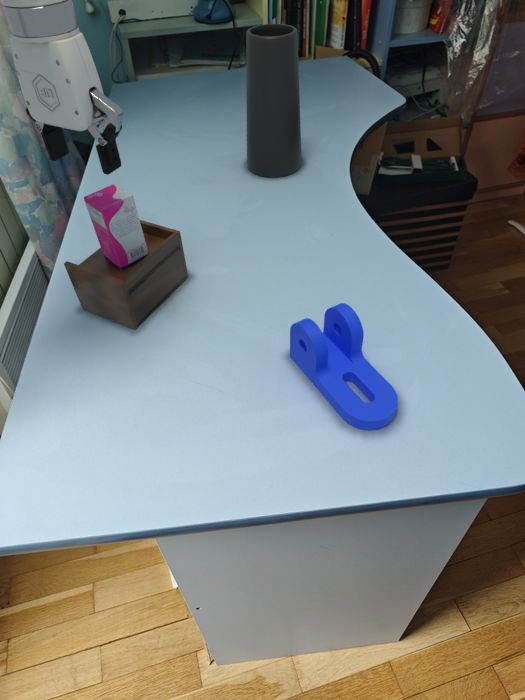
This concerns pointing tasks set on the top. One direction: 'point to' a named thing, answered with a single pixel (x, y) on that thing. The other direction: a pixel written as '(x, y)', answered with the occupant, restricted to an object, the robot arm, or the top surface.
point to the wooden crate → (131, 279)
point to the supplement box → (117, 226)
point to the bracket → (343, 368)
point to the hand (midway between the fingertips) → (86, 163)
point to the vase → (273, 100)
